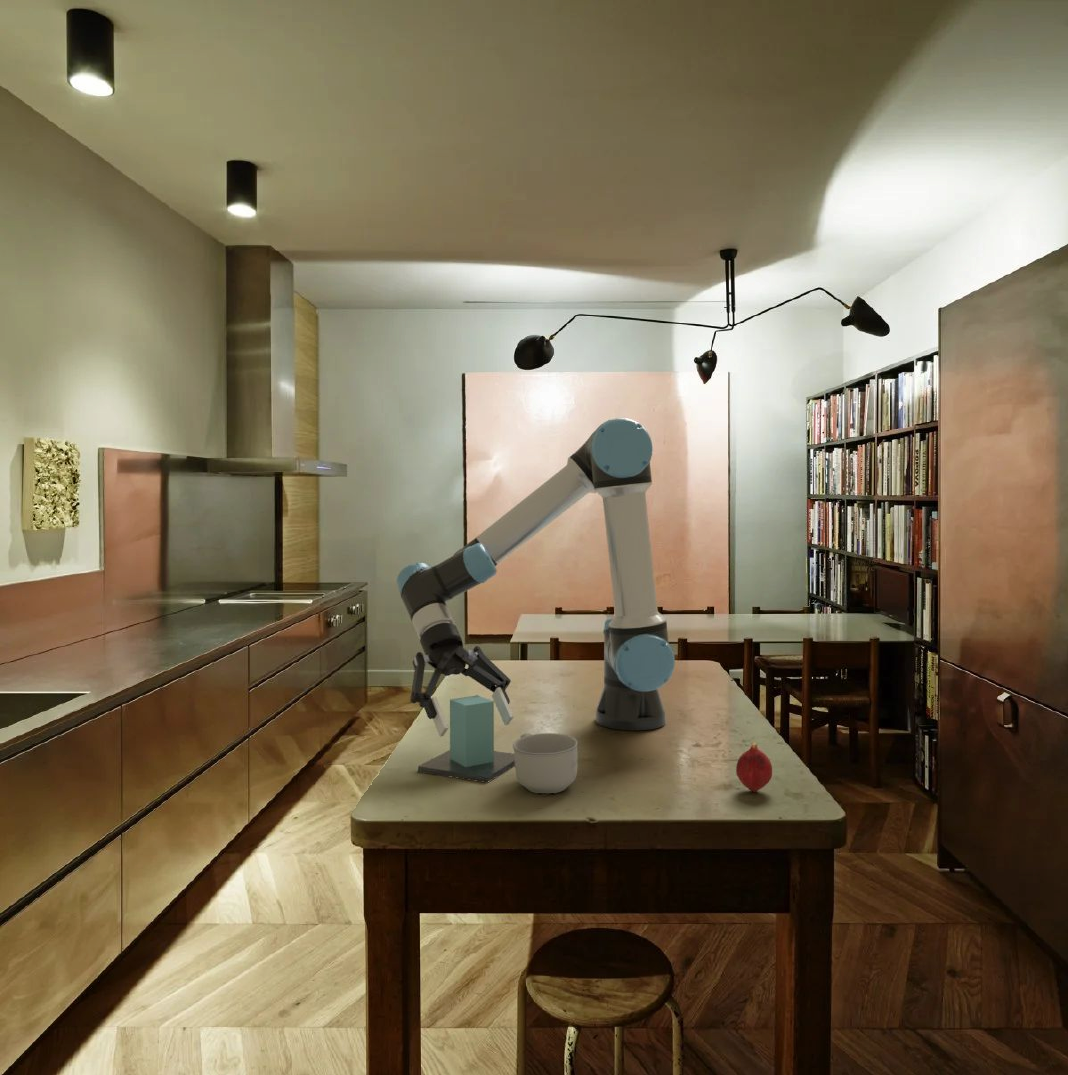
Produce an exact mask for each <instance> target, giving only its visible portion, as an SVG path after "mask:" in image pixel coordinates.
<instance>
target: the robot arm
mask: <svg viewBox="0 0 1068 1075" xmlns="http://www.w3.org/2000/svg"><path fill="white" fill-rule="evenodd" d="M653 449H654V448H653V442H652V439H651V436H650V434H649V432H648V430H647V429H646V428H645V427H644V426H643V425H642V424H640V423H639V422H638V421H635V420H634V419H631V418H625V417H624V418H623V417H622V418H621V417H620V418H618V417H617V418H614V419H608V420H605V421H604V422H603V423H601V424H600V425H599V426H598V427H597V428H596V429H595V430H594V431H593V432H592V433H591V434H590V436H589V437H588V439H587V440H586V441H585V442H584V443H583V444H582V445H581V446H580V447H579V448H578V449H577V450H576V451H575V452H574V453H573V454H572V455H570V456H569V457H568V458H567V464H566V465H565V466H563V468H561V469H560V470H559V471H558V472H556V473H555V474H554V475H552V476H551V477H550V478H549V479H547V480H546V481H545V482H544V483H542V484H541V485H540V486H538V487H537V488H536V489H535V490H533V491H532V492H531V493H530V494H528V496H526V497H525V498H523V499H522V500H521V501H519V503H517V504H516V505H515V506H514V507H512V508H511V509H510V510H509V511H507V512H505V514H503V515H502V516H501V517H500V518H498V519H496V521H495V522H493V523H492V524H491V525H490V526H489V527H487V528H485V530H483V531H482V532H481V533H480V534H478V535H477V536H476V537H475V538H474V539H472V540H470V541H469V542H468V543H467V544H466V545H464V546H463V547H462V548H460V549H458V550H457V551H456V552H455V553H453V555H452V556H451V557H448V558H447V559H445V560H443V561H441V562H439V563H438V564H436V565H434V566H431V567H430V566H429V565H428V564H427V563H424V562H416V563H415V564H412V563H411V564H408V565H407V566H405V567H403V568H402V569H401V570H400V571H399V573H398V574H397V577H396V584H397V588H398V590H399V593H400V599H401V600H402V602H403V603H404V606H405V609H406V611H407V613H408V615H409V618H410V621H411V624H412V625H413V627H414V630H415V633H416V635H417V637H418V639H419V642H420V645H421V649H422V650H423V653H424V654H423V653H422V652H421V651H418V652H417V653H416V654H415V657H414V658H413V660H412V664H413V665H412V666H413V669H414V670H413V671H414V672H413V680H412V687H411V692H410V703H412V704H416V703H419V704H418V705H419V707H420V708H424V711H425V714H426V716H427V718H428V719H429V720H433V723H434V725H435V729H436V732H437V733H438V736H439V737H444V736H445V734H446V733H447V731H448V730H449V729H450V726H449V724H448V723H447V720H446V718H445V715H444V713H443V710H442V707H441V705H440V702H439V700H438V698H437V696H432V695H433V694H434V691H435V689H436V686H437V684H438V682H439V680H440V677H441V675H444V676H445V677H448V676H451V675H454V676H455V675H460V674H462V675H463V676H465V677H469V678H471V679H472V680H474V681H476V682H477V683H479V685H482V687H485V689H487V690H489V691H491V692H492V695H491V697H492V699H493V700H492V701H494V704H495V707H496V708H497V711H498V713H499V715H500V717H501V720H502V722H503V723H504V724H503V725H504V726H508V725H509V724H510V723H511V722H512V721H513V719H514V718H515V716H514V713H513V711H512V709H511V706H510V702H511V701H510V698H509V696H508V693H507V691H506V690H507V689H508V687H509V686H510V683H511V679H510V678H509V677H508V676H507V675H506V674H505V673H504V672H503V671H502V670H501V669H500V668H499V667H498V666H497V665H496V664H495V663H493V661H492V660H491V659H489V658H488V656H486V655H485V653H484V652H483V650H482V649H481V647H480V646H478V645H476V646H474V648H473V649H469V650H467V649H466V648H465V647H464V643H463V640H462V636H461V634H460V631H459V630H458V628H457V625H456V624H455V620H454V618H453V616H452V614H451V611H450V609H449V607H448V605H447V603H446V602H449V601H450V600H451V601H452V600H453V599H454V598H456V597H458V596H459V595H462V594H463V593H465V592H467V591H470V590H471V589H473V588H474V587H477V586H479V585H481V584H484V583H486V582H487V581H489V579H491V578H493V577H494V576H495V575H496V574H497V572H498V571H497V570H498V569H497V565H499V564H500V563H502V562H503V561H504V560H505V559H507V557H509V556H510V555H512V554H513V553H514V552H515V551H516V550H518V549H519V548H520V547H522V546H523V545H524V544H526V543H527V542H528V541H529V540H530V539H532V538H533V537H534V536H535V535H537V534H538V533H540V532H541V531H542V530H544V528H546V527H548V525H549V524H551V523H553V521H554V520H556V519H557V518H558V517H560V516H562V515H563V513H565V512H566V511H567V510H569V509H570V508H571V507H572V506H574V504H576V503H578V502H579V501H580V500H582V499H583V498H584V497H585V496H586V495H588V494H589V493H592V494H596V493H597V494H598V495H599V496H601V498H602V503H603V504H602V506H603V515H604V524H605V532H606V533H605V534H606V541H607V542H606V543H607V552H608V560H609V568H610V569H609V571H610V572H609V573H610V580H611V589H612V597H613V600H612V601H613V607H614V608H613V609H614V616H613V617H609V618H607V619H606V620H605V621H604V627H603V630H602V631H603V632H602V633H603V636H604V641H603V642H604V643H603V649H604V650H603V658H604V660H603V662H604V663H603V688H602V692H601V695H600V698H599V701H598V704H597V707H596V710H595V722H596V723H597V724H598V725H600V726H602V727H605V728H609V729H613V730H621V731H622V730H623V731H648V730H654V729H658V728H661V727H663V726H665V724H666V711H665V708H664V704H663V701H662V697H661V694H660V691H659V689H660V688H662V687H663V686H664V685H665V684H666V683H667V682H668V681H669V680H670V678H671V677H672V675H673V673H674V669H675V662H676V661H675V653H674V652H673V649H672V647H671V644H670V643H669V633H668V625H667V624H668V623H667V618H666V617H665V616H663V614H662V613H660V612H659V611H658V609H659V608H658V603H657V602H658V601H657V591H656V583H655V573H654V564H653V554H652V553H653V552H652V545H651V544H652V543H651V534H650V526H649V525H650V524H649V515H648V507H647V506H648V505H647V495H646V494H647V491H648V489H650V487H651V486H652V485H653V481H652V469H651V460H652V456H653V451H654V450H653ZM427 664H428V665H429V666H431V668H433V669H434V670H433V672H432V675H431V678H430V680H429V682H428V684H427V687H426V689H425V690H424V692H422V691H423V690H422V689H423V682H424V681H423V680H424V674H425V667H426V665H427ZM466 666H467V668H466Z"/></svg>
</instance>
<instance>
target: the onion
mask: <svg viewBox="0 0 1068 1075" xmlns="http://www.w3.org/2000/svg"><path fill="white" fill-rule="evenodd" d="M735 770H736V771H735V772H736V776H737V778H738V780H739V781H740V782H741V783H742V785H743V786H744V787H745V788H747V789H748V790H749V791H751V792H752V791H753V792H752V793H756V792H758V791H759V790H761V789H762V788H764V787H765V786H767V785H768V784H769V783H770V781H771V779H772V776H773V765H772V762H771V760H770V759H769V757H768V756H767V755H766V754H765V753H764V751H762V750H760V749H759V747H758V744H757V743H755V742H754V743H751V744H750V748H749V749H748V750H746V751H744V752H743V753H742V754H741V755H740V756H739V758H738V759H737V762H736V767H735Z"/></svg>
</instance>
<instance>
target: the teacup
mask: <svg viewBox="0 0 1068 1075" xmlns="http://www.w3.org/2000/svg"><path fill="white" fill-rule="evenodd" d="M578 742H579V741H578V739H576V738H575V737H573V736H571V735H567V734H564V733H554V732H553V733H551V732H550V733H549V732H547V733H545V732H544V733H535V734H531V733H529V732H525V733H522V734H521V735H520V738H518V739H517V740H515V741H514V742H513V744H512V748H513V754H514V760H515V766H514V770H515V771H514V772H515V775H516V779H517V781H518V782H519V783H520V784H521V786H523V787H524V788H526V790H528V791H529V792H531V791H532V792H531V793H533V792H534V794H537V793H554V794H558V793H562V792H563V791H566V789H568V787H569V786H570V785H572V783H574V782H575V780H576V777H577V774H578V761H579V760H578V757H579V756H578V745H579V743H578Z"/></svg>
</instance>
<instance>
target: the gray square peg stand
mask: <svg viewBox="0 0 1068 1075" xmlns="http://www.w3.org/2000/svg"><path fill="white" fill-rule="evenodd" d="M513 766H514V767H515V760H514V753H511V752H506V751H505V752H504V751H497V750H494V762H489V763H485V764H480V765H475V766H470V767H465V766H463V765H461V764H459V763H457V762H455V761H453V760H451V759H450V749H449V750H447V751H445V752H443V753H442V754H440V755H437V756H435V757H434V758H431V759H430V760H429V759H428V760H427V761H426V762H424V763H422V764H420V765H417V771H418V772H417V773H423V772H424V773H423V774H429V773H430V775H434V776H435V775H436V776H442V777H443V776H444V777H448V776H452V777H451V778H454V777H458V778H457V779H460V778H464V779H463V780H466V779H470V780H469V781H473V780H477V781H476V782H479V781H484V782H483V783H485V782H488V781H490V780H491V779H493V778H494V777H496V776H498V777H499V776H501V775H503V774H504V773H505V771H506V770H507V771H509V770H510V769H512V768H514V767H513ZM509 768H510V769H509ZM508 769H509V770H508ZM507 771H506V772H507ZM503 772H504V773H503ZM500 774H501V775H500ZM496 778H497V777H496ZM494 779H495V778H494ZM494 779H493V780H494ZM491 781H492V780H491ZM491 781H490V782H491ZM488 783H489V782H488Z"/></svg>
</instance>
